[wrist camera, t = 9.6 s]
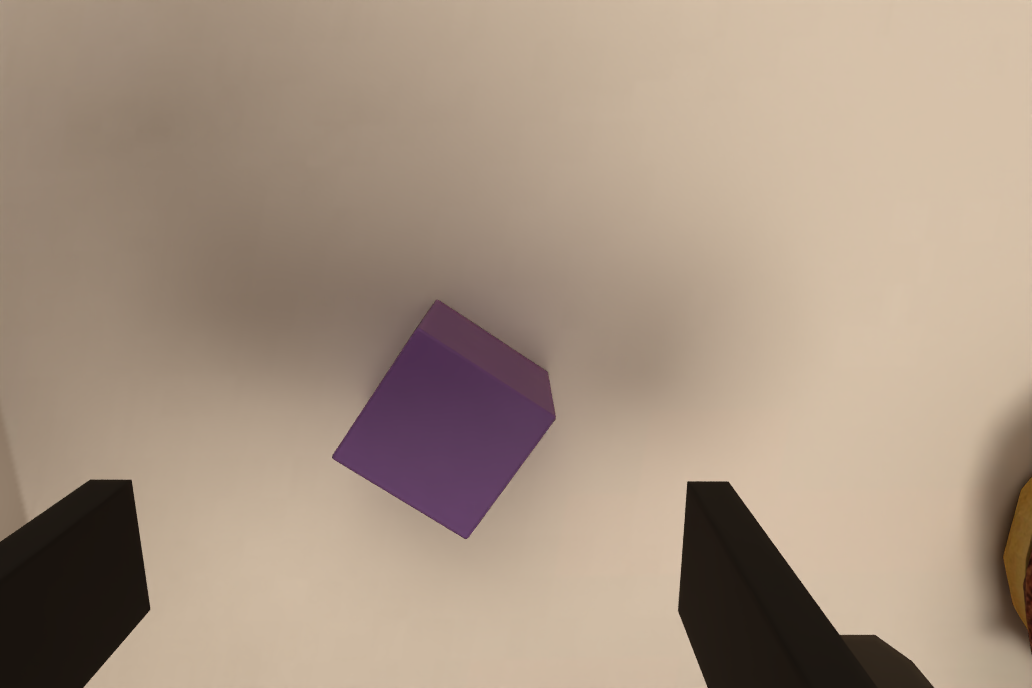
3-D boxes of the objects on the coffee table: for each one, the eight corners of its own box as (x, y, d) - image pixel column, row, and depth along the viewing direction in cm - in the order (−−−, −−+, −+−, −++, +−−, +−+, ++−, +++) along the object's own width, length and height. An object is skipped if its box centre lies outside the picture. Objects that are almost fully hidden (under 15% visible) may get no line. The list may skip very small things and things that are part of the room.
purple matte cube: (366, 405, 22) (330, 458, 18) (437, 298, 21) (417, 327, 17) (475, 473, 22) (466, 541, 18) (548, 372, 22) (557, 417, 17)
